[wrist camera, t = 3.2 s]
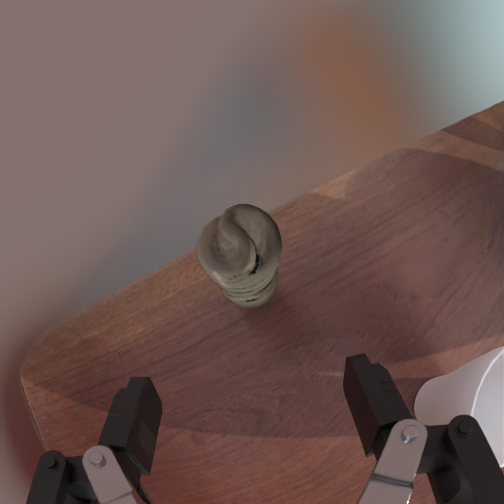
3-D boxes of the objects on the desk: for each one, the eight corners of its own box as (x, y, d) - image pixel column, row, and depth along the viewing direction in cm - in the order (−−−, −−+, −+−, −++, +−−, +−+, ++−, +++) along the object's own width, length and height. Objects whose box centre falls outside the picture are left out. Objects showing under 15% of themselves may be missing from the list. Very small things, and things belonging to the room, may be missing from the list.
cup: (408, 460, 23) (476, 494, 11) (384, 383, 27) (455, 385, 15) (475, 415, 24) (552, 418, 11) (455, 342, 28) (533, 319, 15)
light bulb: (248, 331, 30) (231, 296, 16) (213, 294, 32) (172, 233, 18) (287, 294, 31) (302, 231, 18) (251, 260, 33) (239, 178, 19)
